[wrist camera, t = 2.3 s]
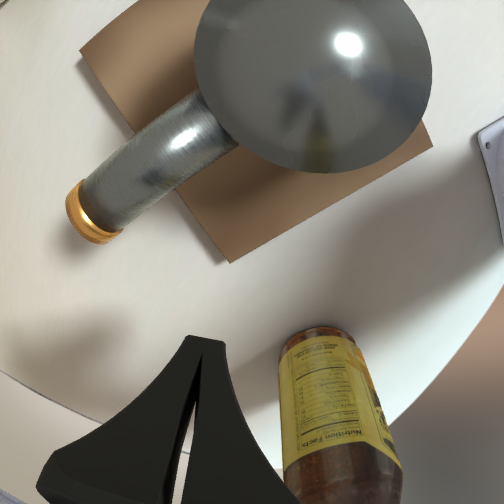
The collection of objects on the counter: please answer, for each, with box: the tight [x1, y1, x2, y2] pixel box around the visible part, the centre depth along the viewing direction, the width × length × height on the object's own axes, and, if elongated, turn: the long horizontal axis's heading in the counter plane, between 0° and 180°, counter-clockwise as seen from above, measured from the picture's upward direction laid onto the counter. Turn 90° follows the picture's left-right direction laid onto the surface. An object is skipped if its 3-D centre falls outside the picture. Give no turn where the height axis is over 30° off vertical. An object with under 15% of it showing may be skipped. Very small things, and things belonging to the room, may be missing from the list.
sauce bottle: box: [278, 327, 403, 504], centre depth 14 cm, size 6×6×20 cm
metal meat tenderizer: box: [65, 0, 432, 244], centre depth 11 cm, size 16×9×3 cm, turn 123°
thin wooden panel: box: [79, 0, 433, 263], centre depth 14 cm, size 16×14×4 cm
